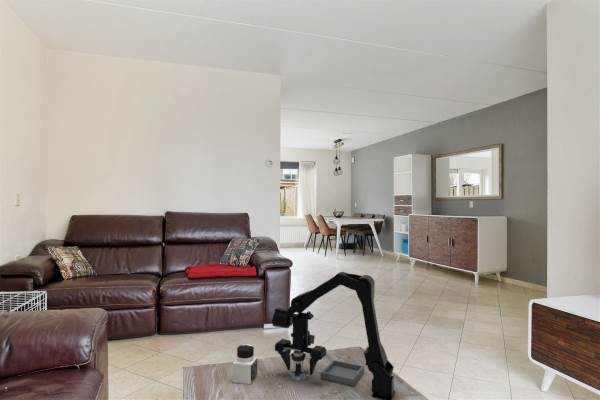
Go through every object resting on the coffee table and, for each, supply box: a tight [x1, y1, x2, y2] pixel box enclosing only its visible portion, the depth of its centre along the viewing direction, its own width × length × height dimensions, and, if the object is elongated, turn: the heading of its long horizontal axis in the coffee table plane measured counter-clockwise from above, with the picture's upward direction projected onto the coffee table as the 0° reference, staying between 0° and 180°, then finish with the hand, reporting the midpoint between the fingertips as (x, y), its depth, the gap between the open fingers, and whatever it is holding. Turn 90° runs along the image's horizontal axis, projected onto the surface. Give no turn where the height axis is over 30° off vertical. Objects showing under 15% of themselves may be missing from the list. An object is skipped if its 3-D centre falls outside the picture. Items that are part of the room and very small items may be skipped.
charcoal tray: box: [320, 359, 365, 388], centre depth 138 cm, size 13×13×2 cm
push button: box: [290, 350, 310, 382], centre depth 135 cm, size 7×5×10 cm
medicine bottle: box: [232, 343, 258, 385], centre depth 135 cm, size 7×7×12 cm
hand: (300, 372), depth 135 cm, fingers open, 9 cm apart
